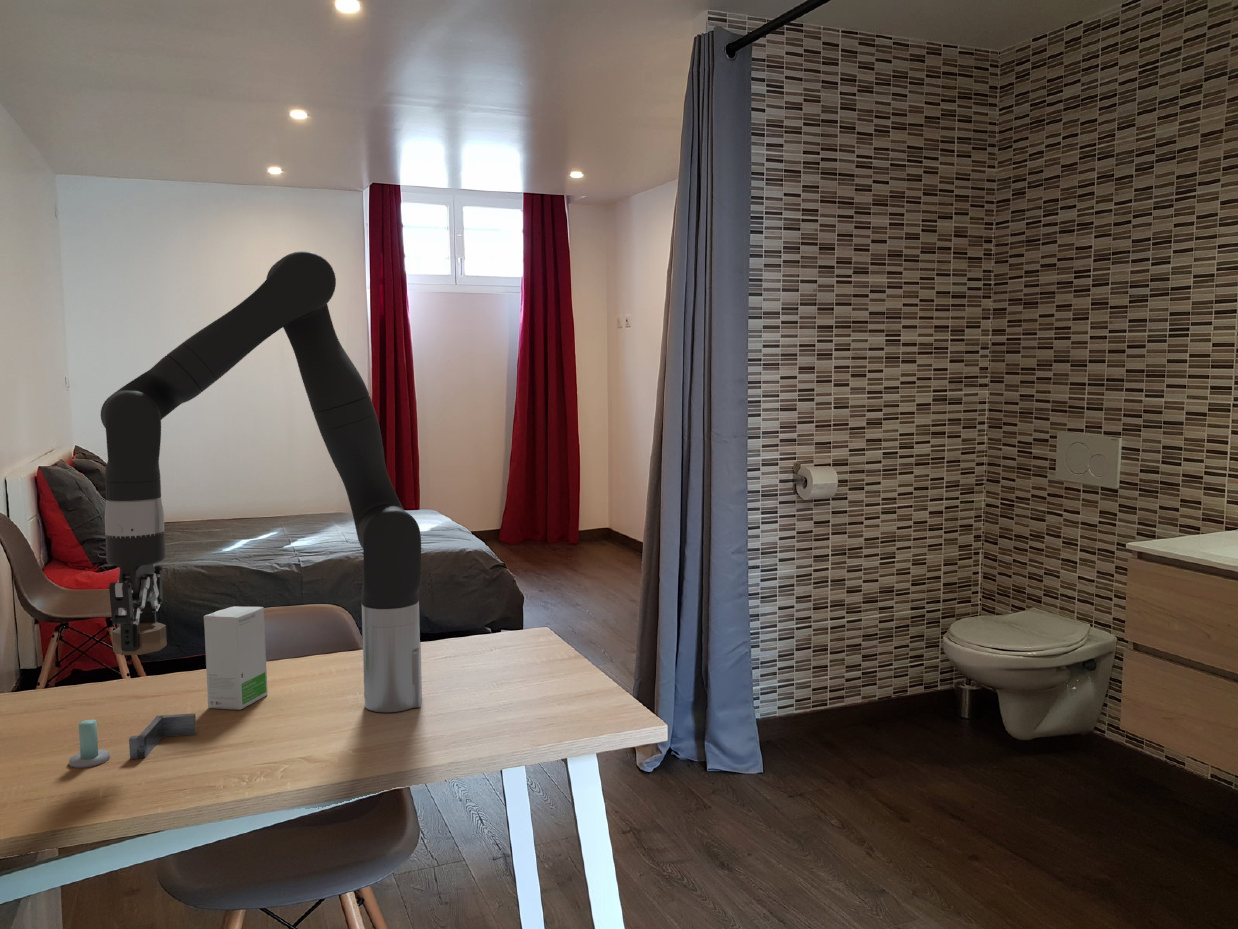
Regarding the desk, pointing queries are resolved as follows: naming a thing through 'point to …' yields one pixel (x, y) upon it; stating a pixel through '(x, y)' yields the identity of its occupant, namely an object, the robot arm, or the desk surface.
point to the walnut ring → (143, 639)
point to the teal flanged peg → (88, 747)
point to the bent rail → (161, 733)
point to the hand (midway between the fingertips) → (139, 643)
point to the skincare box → (235, 657)
